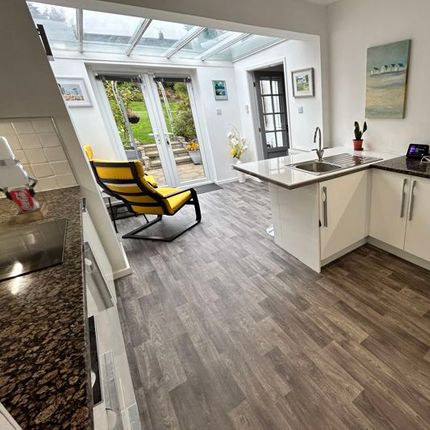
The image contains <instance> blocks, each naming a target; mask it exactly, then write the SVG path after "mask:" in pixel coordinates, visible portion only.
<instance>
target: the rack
mask: <svg viewBox="0 0 430 430" xmlns="http://www.w3.org/2000/svg"><path fill="white" fill-rule="evenodd" d="M38 204H39V206H40V207H38V208H37V209H36V210H35V211H32V212H28V213H22V212H19V211H18V210H16V212H15V214H14V215H13V218H14V220H15V221H16V223H17V224H18V225H19V224H24V223H28V222H29V223H30V222H35V221H39V220H44V219H46V217H47V214H48V212H49V211H48V210H49V208H48V206H47V204H46V202H41V203H38Z"/></svg>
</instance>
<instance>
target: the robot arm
mask: <svg viewBox="0 0 430 430" xmlns="http://www.w3.org/2000/svg"><path fill="white" fill-rule="evenodd" d="M21 162H22V160H21V159H20V158H16V157H15V155H14V153H13V151H12V149H11V147H10V145H9V142H8V140H7V138H6V137H4V136H3V135H0V192H1V193H3V194H4V195H5V198H6V199H7V200H9V201H10V202H11V201H13V200H12V198H11V195H10V191H9V188H13V187H14V188H15V187H20V186H21V187H22V186H24V187H27V189H28V190H29V191H30V194H31V196H32V197H33V198H34V197H35V196H36V191H35V189H34V188H35V187H36V186H37V184H38V182H39V178H35V177H33V176H30V175H28V173H27V171H26V170H25V168H24V166H23V165H22V164H21ZM31 181H33V182H32V183H31Z"/></svg>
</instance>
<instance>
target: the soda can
mask: <svg viewBox="0 0 430 430" xmlns="http://www.w3.org/2000/svg"><path fill="white" fill-rule="evenodd" d="M9 192H10V195H11V198H12V200H11V201H12V202H13V204H14V206H15V208H16V209H17V211H19V212H22V213H28V212H32V211H35V210H36V209H37V208H38V207H37V204H36V202H35V201H36V199H35V198H34V197H32V196H31V194H30V191H29V188H28V187H27V186H21V187H20V186H19V187H14V188H11V189H10V190H9Z"/></svg>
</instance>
